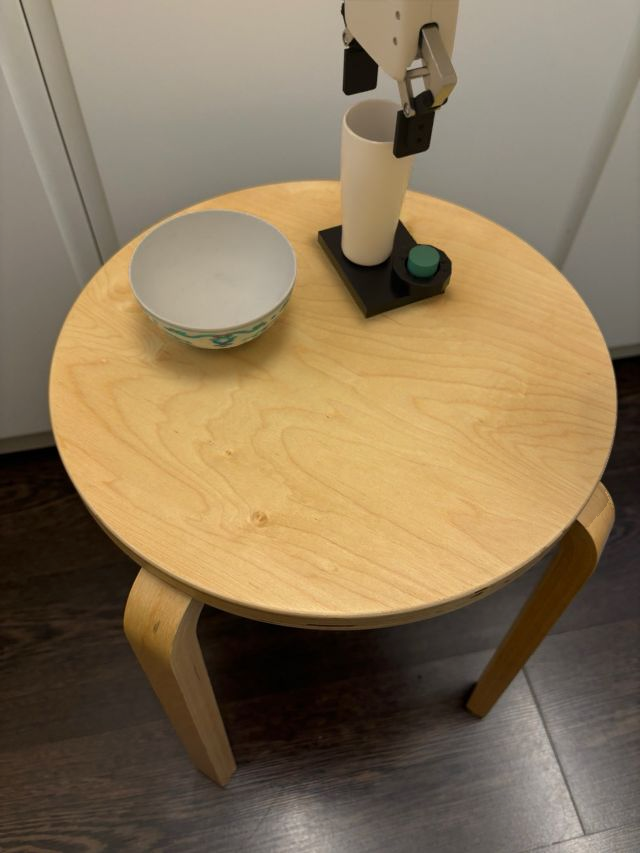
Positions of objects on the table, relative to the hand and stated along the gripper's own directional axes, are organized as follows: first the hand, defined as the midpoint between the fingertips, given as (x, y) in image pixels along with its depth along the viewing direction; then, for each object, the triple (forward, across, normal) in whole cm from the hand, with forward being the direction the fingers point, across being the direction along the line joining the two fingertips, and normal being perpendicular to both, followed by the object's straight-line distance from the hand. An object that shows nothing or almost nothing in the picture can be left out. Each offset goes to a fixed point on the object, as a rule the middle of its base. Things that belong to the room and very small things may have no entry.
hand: (384, 120), depth 61 cm
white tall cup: (+15, 0, 0) cm, 15 cm away
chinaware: (+17, -2, +17) cm, 24 cm away
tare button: (+14, -5, -3) cm, 15 cm away
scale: (+16, -1, -1) cm, 17 cm away
